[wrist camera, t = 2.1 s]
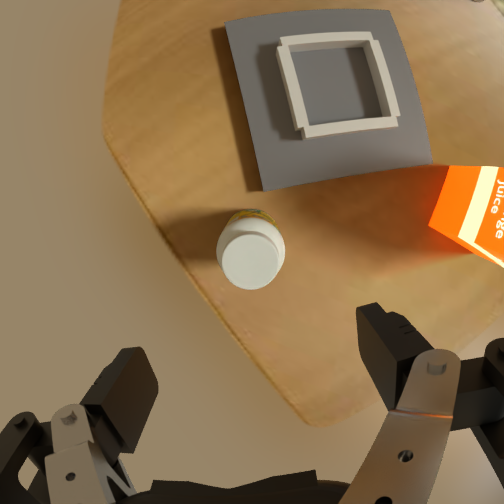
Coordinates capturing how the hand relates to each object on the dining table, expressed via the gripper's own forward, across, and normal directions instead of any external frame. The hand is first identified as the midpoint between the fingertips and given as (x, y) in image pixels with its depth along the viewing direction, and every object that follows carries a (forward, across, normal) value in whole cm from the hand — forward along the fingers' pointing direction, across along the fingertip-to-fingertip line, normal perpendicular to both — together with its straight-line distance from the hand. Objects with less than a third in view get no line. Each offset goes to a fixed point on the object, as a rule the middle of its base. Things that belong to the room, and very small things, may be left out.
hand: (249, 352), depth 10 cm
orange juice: (+20, -25, +2) cm, 32 cm away
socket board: (+20, -11, -13) cm, 27 cm away
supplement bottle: (+21, 0, 0) cm, 21 cm away
